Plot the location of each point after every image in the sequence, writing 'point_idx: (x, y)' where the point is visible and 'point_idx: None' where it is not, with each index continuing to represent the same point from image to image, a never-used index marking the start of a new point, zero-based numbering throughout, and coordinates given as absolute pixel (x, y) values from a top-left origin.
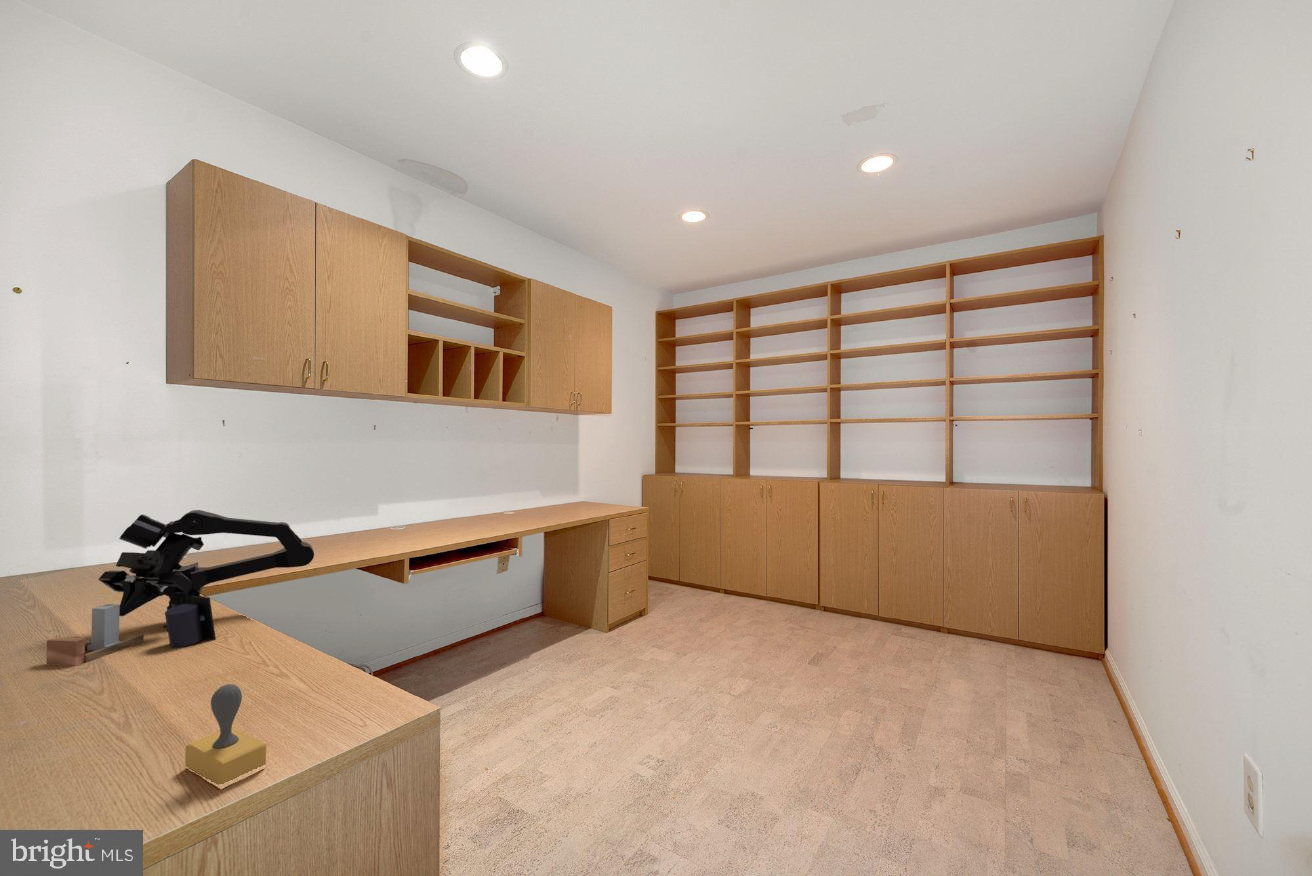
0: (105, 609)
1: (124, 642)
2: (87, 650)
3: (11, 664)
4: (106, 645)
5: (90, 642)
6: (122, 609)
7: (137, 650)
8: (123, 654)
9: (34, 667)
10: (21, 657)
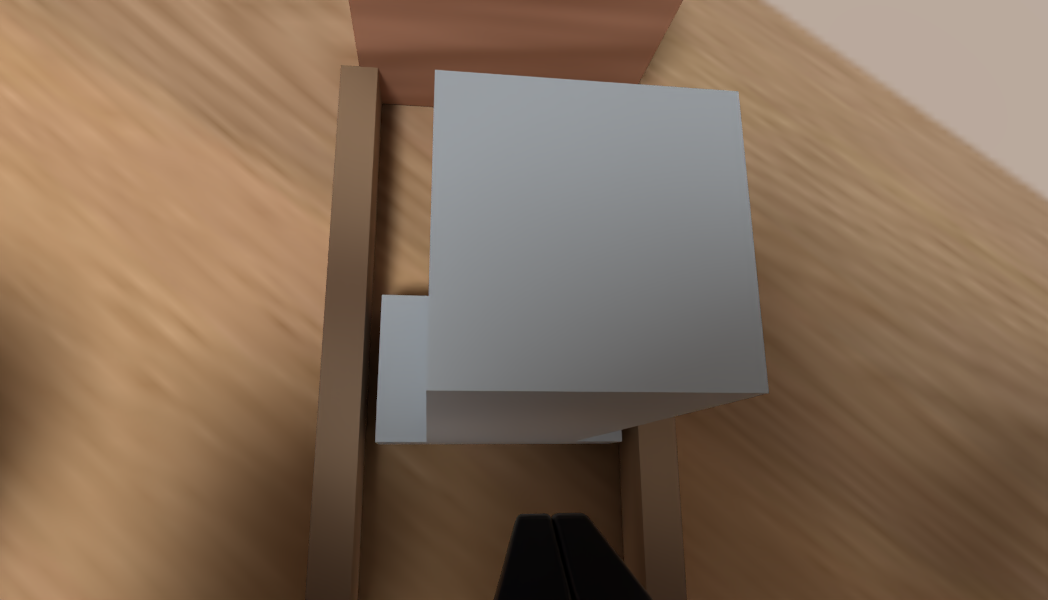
0: (439, 96)
1: (320, 407)
2: None
3: (861, 68)
4: (427, 315)
5: None
6: (530, 569)
7: (142, 379)
8: (191, 276)
9: None
10: (957, 183)
